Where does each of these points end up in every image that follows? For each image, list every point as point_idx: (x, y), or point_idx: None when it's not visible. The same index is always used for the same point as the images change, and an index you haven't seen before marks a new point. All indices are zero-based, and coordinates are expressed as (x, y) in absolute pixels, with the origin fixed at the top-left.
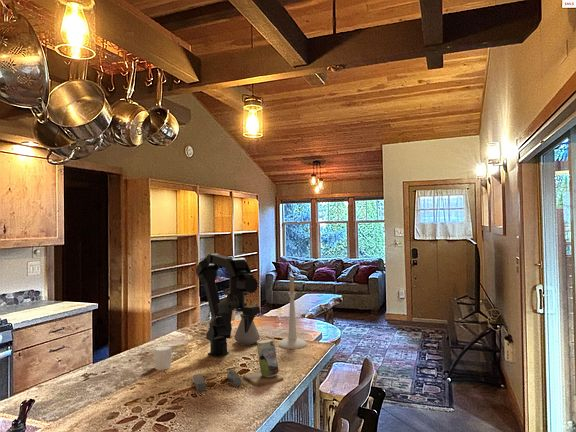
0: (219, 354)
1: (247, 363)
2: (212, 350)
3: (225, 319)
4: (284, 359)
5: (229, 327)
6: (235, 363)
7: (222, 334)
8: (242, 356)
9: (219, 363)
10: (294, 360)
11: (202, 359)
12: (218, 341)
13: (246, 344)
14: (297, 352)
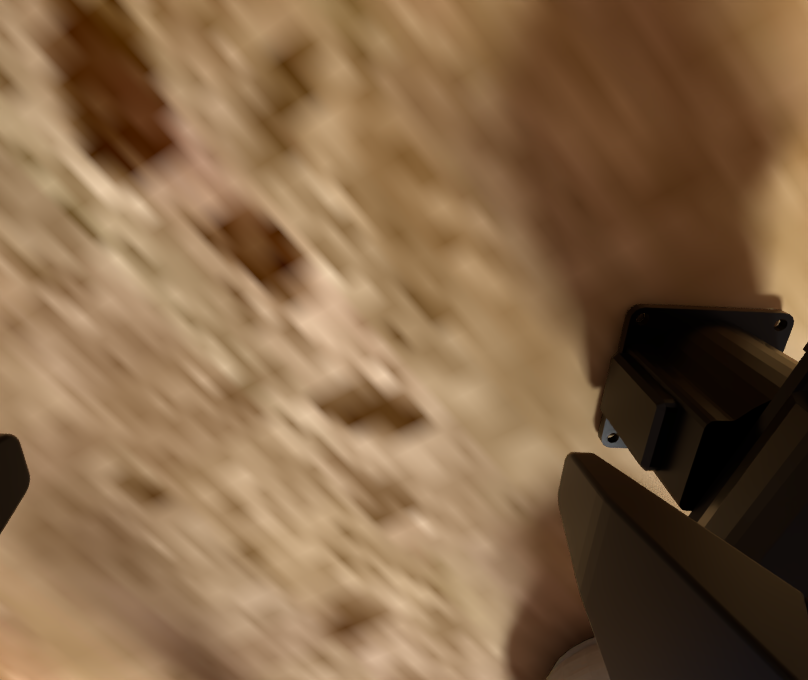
0: (648, 343)
1: (258, 303)
2: (751, 336)
3: (792, 665)
4: (84, 523)
5: (570, 525)
6: (357, 245)
7: (734, 476)
8: (434, 428)
9: (504, 158)
10: (5, 538)
11: (758, 167)
12: (739, 405)
13: (588, 644)
14: (135, 667)
